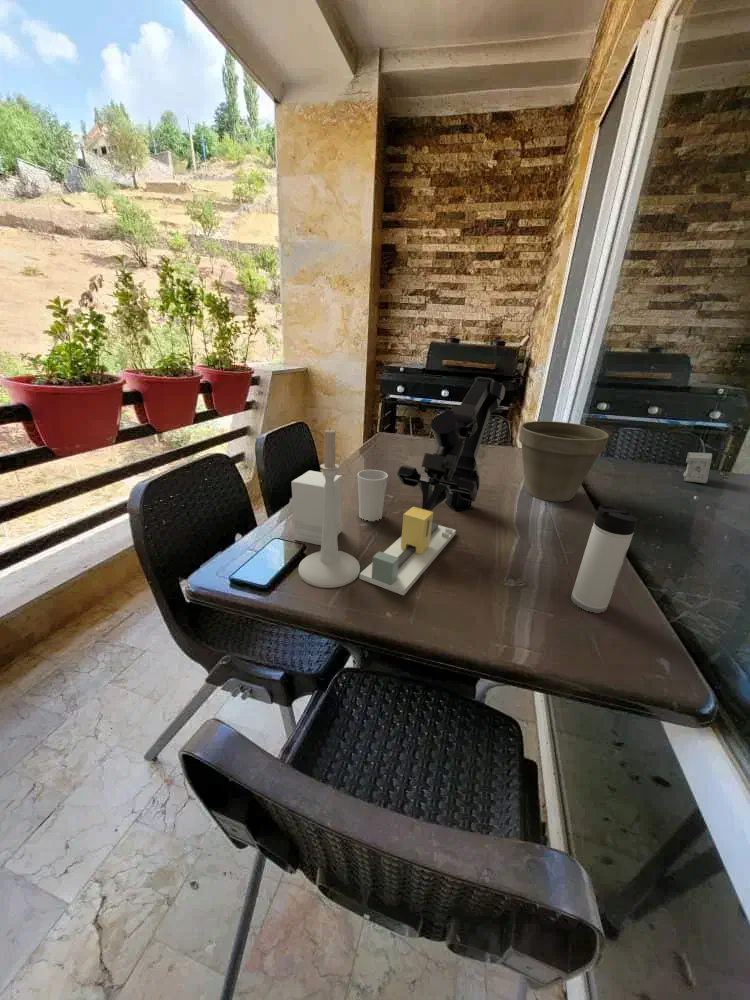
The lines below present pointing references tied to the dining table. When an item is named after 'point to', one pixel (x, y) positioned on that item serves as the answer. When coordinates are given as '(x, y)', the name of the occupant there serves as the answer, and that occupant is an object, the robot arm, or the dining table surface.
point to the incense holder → (697, 467)
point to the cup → (371, 493)
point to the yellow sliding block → (416, 529)
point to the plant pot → (558, 457)
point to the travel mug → (603, 558)
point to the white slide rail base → (405, 562)
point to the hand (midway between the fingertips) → (423, 514)
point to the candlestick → (329, 535)
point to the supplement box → (313, 506)
